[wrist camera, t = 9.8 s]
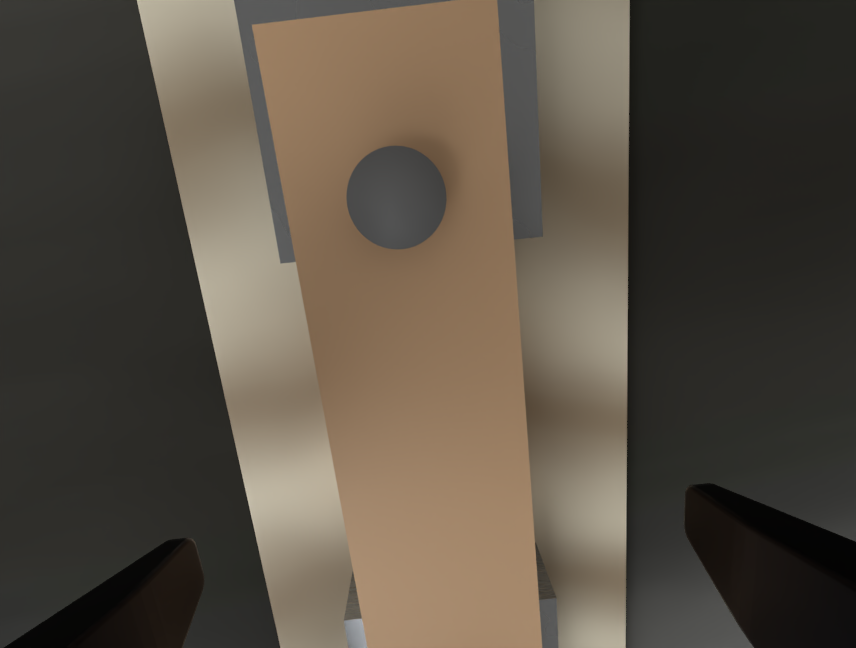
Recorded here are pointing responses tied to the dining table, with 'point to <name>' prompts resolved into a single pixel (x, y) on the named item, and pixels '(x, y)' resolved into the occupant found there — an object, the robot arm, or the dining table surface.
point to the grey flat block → (518, 57)
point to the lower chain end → (546, 604)
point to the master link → (412, 310)
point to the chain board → (537, 299)
